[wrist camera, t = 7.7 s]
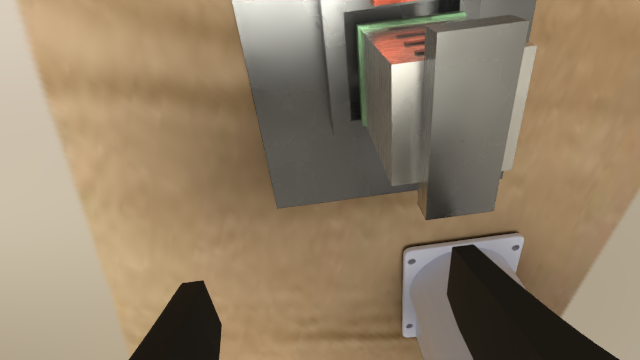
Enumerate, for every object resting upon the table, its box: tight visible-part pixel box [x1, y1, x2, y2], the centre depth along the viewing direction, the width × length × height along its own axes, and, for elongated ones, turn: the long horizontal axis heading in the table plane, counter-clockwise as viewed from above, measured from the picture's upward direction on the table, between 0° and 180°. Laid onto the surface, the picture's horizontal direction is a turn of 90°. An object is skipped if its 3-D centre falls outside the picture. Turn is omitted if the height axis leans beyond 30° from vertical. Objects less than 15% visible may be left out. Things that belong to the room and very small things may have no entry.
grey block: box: [356, 10, 537, 220], centre depth 12 cm, size 5×4×6 cm
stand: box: [232, 0, 536, 209], centre depth 16 cm, size 16×13×4 cm
